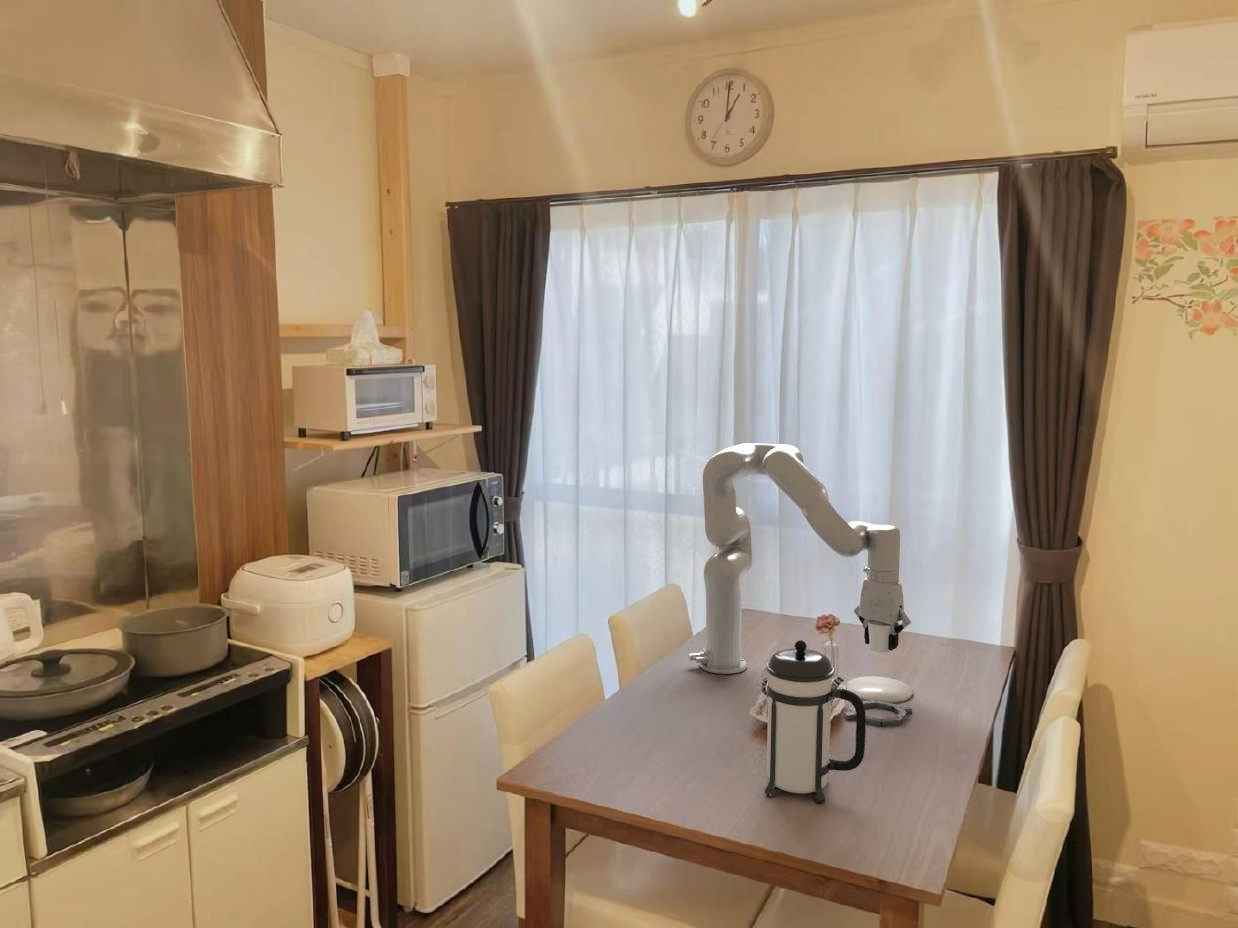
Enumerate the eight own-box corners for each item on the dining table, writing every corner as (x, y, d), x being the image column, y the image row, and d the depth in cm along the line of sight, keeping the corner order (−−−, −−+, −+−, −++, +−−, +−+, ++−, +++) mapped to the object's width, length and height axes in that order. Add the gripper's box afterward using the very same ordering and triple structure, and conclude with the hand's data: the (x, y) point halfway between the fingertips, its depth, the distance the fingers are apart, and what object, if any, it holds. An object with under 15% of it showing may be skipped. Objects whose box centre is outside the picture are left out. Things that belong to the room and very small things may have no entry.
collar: (858, 728, 211) (858, 723, 211) (833, 708, 223) (834, 704, 223) (923, 721, 215) (924, 716, 215) (896, 702, 227) (896, 697, 226)
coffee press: (789, 815, 173) (793, 659, 169) (744, 778, 187) (747, 634, 183) (865, 797, 180) (870, 646, 176) (816, 763, 194) (820, 623, 190)
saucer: (865, 705, 225) (865, 702, 224) (835, 682, 240) (835, 679, 240) (925, 699, 228) (925, 696, 228) (891, 676, 244) (891, 673, 244)
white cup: (898, 653, 229) (898, 625, 228) (869, 652, 230) (869, 625, 229) (893, 644, 236) (894, 617, 235) (865, 643, 237) (866, 617, 236)
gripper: (844, 571, 234) (842, 641, 236) (907, 584, 221) (904, 657, 224) (860, 566, 239) (859, 634, 241) (923, 578, 227) (920, 650, 229)
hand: (881, 645), depth 233 cm, fingers closed on white cup, 5 cm apart
